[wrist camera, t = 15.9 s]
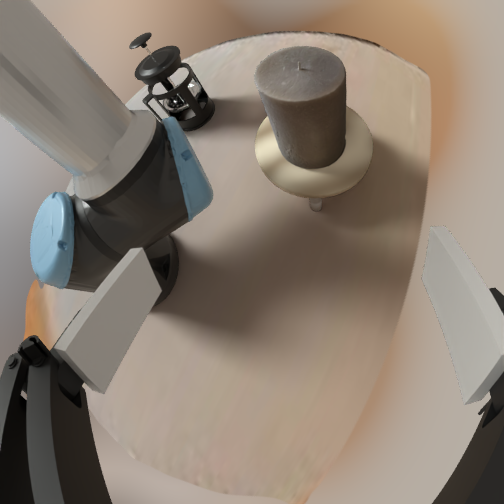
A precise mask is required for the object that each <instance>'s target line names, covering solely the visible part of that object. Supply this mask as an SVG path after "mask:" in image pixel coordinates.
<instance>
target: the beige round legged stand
mask: <svg viewBox="0 0 504 504" xmlns="http://www.w3.org/2000/svg"><path fill="white" fill-rule="evenodd" d="M345 139H346V147H345V150H344V152H343V154H342V156H341V157H340V158H338V160H337V161H336V162H335V163H333V164H331V165H330V166H327V167H324V168H319V169H305V168H301V167H298V166H295V165H293V164H291V163H290V162H288V161H287V160H286V159H285V157H284V156H283V155H282V154H281V151H280V149H279V147H278V144H277V141H276V138H275V135H274V133H273V130H272V127H271V124H270V121H269V118H268V116H267V117H266V118H265V119H264V121H263V122H262V124H261V125H260V127H259V129H258V132H257V135H256V139H255V153H256V157H257V160H258V162H259V164H260V166H261V169H262V171H263V172H264V174H265V175H266V177H267V178H268V179H269V180H270V181H271V182H272V183H273V184H274V185H276V186H277V187H278V188H280V189H282V190H283V191H285V192H288V193H290V194H293V195H296V196H299V197H304V198H309V200H310V206H311V209H312V210H313V211H319V210H321V208H322V199H321V198H326V197H332V196H335V195H338V194H341V193H343V192H345V191H347V190H349V189H350V188H352V187H353V186H355V185H356V184H357V183H358V182H359V181H360V180H361V179H362V178H363V176H364V175H365V173H366V172H367V170H368V168H369V165H370V162H371V158H372V153H373V140H372V135H371V133H370V130H369V128H368V126H367V124H366V123H365V122H364V120H363V119H362V118H361V117H360V116H359V115H358V114H357V113H356V112H355V111H354V110H352V109H351V108H349V107H348V106H346V135H345Z"/></svg>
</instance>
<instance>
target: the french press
mask: <svg viewBox="0 0 504 504" xmlns="http://www.w3.org/2000/svg"><path fill="white" fill-rule="evenodd" d="M150 37H151V33H145V34H142V35H140V36H139V37H137V38H136V39H135V40H134V41H133V42H132V43H131V44H130V46H129V48H130V49H134V48H137V47H139V46H141V47H142V48H145V49H146V50H147V52H148V53H149V54H150V55H148V56H147V57H146V58H145V59H143V61H142V62H141V63H140V64H139V65H138V67H137V68H136V71H135V77H136V78H137V79H138V80H142V81H143V82H144V83H145V84H147V85H149V86H148V92H149V94H148V95H147V96H146V97H145V98H144V99H143V100H142V101H143V103H144V104H145V105H146V106H147V107H148V108H149V109H150V110H151V111H152V112H153V114H154V115H155V116H156V117H157V118H158V119H159V120H160V121H162V119H161V118H160V117H159V115H158V114H157V113H156V112H155V111H154V110H153V109H152V108H151V107H150V105H149V104H148V102H149V101H150V100H151V99H152V98H154V99H155V100H156V101H157V103H158V104H159V105H160V106H161V107H162V109H163V110H164V111H165V112H166V113H167V114H168V116H169V117H175V118H176V120H177V122H178V123H179V124H180V126H181V128H182V130H183V131H192V130H195V129H198V128H200V127H201V126H203V125H204V124H206V123H207V122H208V121H209V120H210V119H211V117H212V116H213V114H214V111H215V105H214V103H213V101H212V100H211V99H210V98H209V97H208V95H207V93H206V92H205V90H204V88H203V87H202V85H201V83H200V82H199V80H198V79H197V77H196V75H195V74H194V72H193V70H192V69H191V67H190V66H189V65H188V64H187V63H181V58H180V50H179V48H178V47H176V46H166V47H163V48H160V49H158V50H156V51H154V52H153V53H151V52H150V51H149V49H148V48H147V47H146V46H147V44H146V43H145V42H146V41H148V40H149V39H150ZM182 67H185V68H187V69H188V71H189V74H188V76H187V78H186V79H185V80H184V81H183V82H182V83H181V84H179V85H177V86H175V85H174V83H173V82H172V81H171V79H170V78H169V77H170V76H171V75H172V74H173V73H174V72H176V70H177V69H178V68H182ZM192 78H193V79H194V80H195V82H194V81H191V80H192ZM159 82H161V84H162V85H163V86H164V88H165V89H166V90H167V91H168V92H167V93H165V94H161V95H153V94H152V90H153V87H154V85H155V84H156V83H159ZM158 100H164V101H163V105H162V104H161V103H160V102H159V101H158ZM198 101H202V102H205V103H206V105H205V107H204V108H203V109H202V108H201V106H200V105H199V103H198ZM188 108H191V109H192V110H193V112H194V113H195V115H196V116H194V117H192V118H190V119H187V120H184V121H180V114H181V112H182V111H184V110H186V109H188ZM168 112H169V113H168Z"/></svg>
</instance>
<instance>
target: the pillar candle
mask: <svg viewBox="0 0 504 504" xmlns="http://www.w3.org/2000/svg"><path fill="white" fill-rule="evenodd" d="M254 80H255V84H256V86H257V89H258V91H259V94H260V96H261V99H262V102H263V104H264V107H265V111H266V113H267V115H268V118H269V121H270V124H271V127H272V130H273V133H274V135H275V138H276V141H277V144H278V147H279V149H280V151H281V154H282V155H283V156H284V157H285V159H286V160H287V161H288V162H290V163H291V164H293V165H295V166H298V167H301V168H305V169H319V168H324V167H327V166H330V165H331V164H333V163H335V162H336V161H337V160H338V158H340V157H341V156H342V154H343V152H344V150H345V147H346V139H345V135H346V71H345V67H344V65H343V63H342V61H341V60H340V59H339V58H338V57H337V56H336V55H334V54H333V53H331V52H329V51H327V50H324V49H321V48H317V47H309V46H297V47H290V48H285V49H284V48H283V49H280V50H278V51H276V52H273V53H271V54H270V55H268V57H267V58H265V59H264V60H263V61H261V62H260V64H259V65H258V66H257V68H256V71H255V74H254Z"/></svg>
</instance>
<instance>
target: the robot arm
mask: <svg viewBox="0 0 504 504" xmlns="http://www.w3.org/2000/svg"><path fill="white" fill-rule="evenodd" d="M0 116H1V117H2V118H3V119H5V120H6V121H7V122H8V123H9V124H10V125H12V126H13V127H14V128H15V129H16V130H18V131H19V132H20V133H21V134H22V135H24V136H25V137H26V138H27V139H28V140H30V141H31V142H32V143H33V144H34V145H36V146H37V147H38V148H40V149H41V150H42V151H43V152H44V153H46V154H47V155H48V156H49V157H51V158H52V159H53V160H54V161H56V162H57V163H58V164H59V165H61V166H62V167H63V168H65V169H66V170H67V171H69V172H70V173H71V174H73V185H74V192H75V194H74V195H73V196H69V195H68V194H67V193H66V192H54V193H52V194H51V195H49V196H48V197H47V198H46V199H45V201H44V202H43V203H42V205H41V207H40V209H39V211H38V213H37V215H36V218H35V221H34V225H33V230H32V234H31V242H30V255H31V262H32V266H33V270H34V272H35V274H36V276H37V277H38V278H39V279H40V280H41V281H42V282H43V283H45V284H48V285H51V286H54V287H57V288H59V289H64V288H66V289H73V290H80V291H87V292H94V293H93V295H92V296H91V297H90V299H89V300H88V301H87V302H86V304H85V305H84V306H83V308H82V309H81V310H79V312H78V313H77V314H76V316H75V317H74V318H73V321H71V322H70V324H69V325H68V327H67V328H66V329H65V331H64V332H63V333H62V335H61V336H60V338H59V339H58V340H57V342H56V343H55V345H54V346H53V348H52V349H51V350H50V351H49V350H48V349H47V348H46V346H45V345H44V344H43V343H42V341H41V340H40V339H39V338H38V336H36V335H33V336H30V337H28V338H27V339H25V340H24V341H23V342H22V343H21V345H20V347H19V349H18V353H15V354H12V355H11V356H10V357H9V358H8V360H7V361H6V364H5V366H4V369H3V372H2V375H1V378H0V504H112V502H111V499H110V496H109V493H108V490H107V487H106V484H105V480H104V477H103V474H102V470H101V467H100V463H99V459H98V455H97V451H96V447H95V442H94V438H93V433H92V428H91V423H90V417H89V411H88V405H87V398H86V392H85V389H84V388H83V387H82V385H83V383H84V382H85V383H86V384H87V385H88V386H89V387H90V388H91V389H92V390H94V391H97V392H99V393H102V394H105V392H106V390H107V388H108V386H109V384H110V382H111V380H112V378H113V376H114V374H115V373H116V371H117V369H118V367H119V365H120V363H121V361H122V360H123V358H124V356H125V354H126V352H127V350H128V349H129V347H130V345H131V343H132V341H133V340H134V338H135V336H136V334H137V333H138V331H139V329H140V327H141V326H142V324H143V322H144V320H145V319H146V317H147V315H148V313H149V312H150V310H151V308H152V307H153V306H155V305H157V304H159V303H160V302H162V301H163V300H164V299H165V298H166V297H167V295H168V294H169V293H170V291H171V290H172V288H173V286H174V284H175V281H176V278H177V274H178V266H179V260H178V253H177V249H176V246H175V244H174V242H173V240H172V238H171V237H170V236H169V234H170V233H172V232H173V231H175V230H176V229H178V228H179V227H181V226H183V225H184V224H186V223H187V222H190V221H191V220H192V219H193V217H195V216H196V215H197V214H199V213H200V212H201V211H203V210H204V209H205V208H207V207H208V206H209V205H210V203H211V201H212V199H213V190H212V187H211V185H210V183H209V181H208V178H207V176H206V174H205V172H204V170H203V168H202V166H201V164H200V162H199V160H198V158H197V156H196V154H195V152H194V150H193V149H192V147H191V145H190V143H189V141H188V139H187V137H186V135H185V133H184V131H183V130H182V128H181V126H180V124H179V123H178V122H177V120H176V118H175V117H169V118H165V119H162V121H161V122H159V121H158V120H157V118H156V117H155V116H154V115H153V114H152V113H151V112H150V111H148V110H129V109H128V108H127V107H126V106H125V105H124V104H123V103H122V101H121V100H120V99H119V98H118V97H117V96H116V95H115V94H114V93H113V91H112V90H111V89H110V88H109V87H108V86H107V85H106V84H105V83H104V82H103V80H102V79H101V78H100V77H99V76H98V75H97V74H96V72H95V71H94V70H93V69H92V68H91V67H90V66H89V65H88V64H87V62H86V61H84V59H83V58H82V57H81V56H80V55H79V54H78V52H76V50H75V49H74V48H73V47H72V46H71V45H70V44H69V42H68V41H67V40H66V39H65V38H64V37H63V36H62V35H61V34H60V32H59V31H58V30H57V29H56V28H55V27H54V26H53V25H52V24H51V23H50V21H49V20H48V19H47V18H46V17H45V16H44V15H43V14H42V13H41V11H40V10H39V9H38V8H37V7H36V6H35V5H34V4H33V3H32V2H31V1H30V0H0ZM422 281H423V283H424V286H425V288H426V290H427V292H428V295H429V297H430V300H431V302H432V305H433V307H434V310H435V312H436V315H437V318H438V320H439V323H440V325H441V328H442V331H443V334H444V337H445V340H446V343H447V346H448V349H449V351H450V355H451V358H452V361H453V365H454V368H455V372H456V375H457V379H458V383H459V387H460V391H461V395H462V399H463V403H464V405H466V404H470V403H473V402H476V401H479V400H482V399H483V398H484V396H485V395H486V394H487V393H488V392H489V391H490V395H491V399H490V400H489V401H488V402H487V403H486V405H485V406H484V407H483V408H482V409H481V410H480V412H479V413H478V414H479V415H481V414H482V413H483V412H484V414H483V416H482V418H481V421H480V423H479V425H478V427H477V429H476V432H475V433H474V436H473V438H472V440H471V442H470V443H469V445H468V447H467V449H466V451H465V453H464V455H463V457H462V459H461V460H460V462H459V464H458V465H457V467H456V469H455V471H454V472H453V474H452V475H451V477H450V478H449V480H448V482H447V483H446V485H445V486H444V488H443V489H442V491H441V492H440V493H439V495H438V496H437V498H436V499H435V500H434V502H433V503H432V504H504V296H503V295H502V294H501V293H500V292H499V291H498V290H497V289H496V288H490V289H489V288H488V287H487V285H486V283H485V282H484V280H483V279H482V277H481V276H480V274H479V272H478V271H477V269H476V268H475V266H474V265H473V263H472V262H471V260H470V259H469V257H468V256H467V255H466V253H465V252H464V250H463V249H462V247H461V246H460V245H459V243H458V242H457V241H456V239H455V238H454V237H453V235H452V234H451V233H450V231H449V230H448V229H447V227H446V226H432V227H430V233H429V240H428V246H427V252H426V258H425V264H424V269H423V274H422ZM22 390H23V391H24V392H25V393H26V394H27V400H25V399H24V398H23V397H22V396H21V391H22Z"/></svg>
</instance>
